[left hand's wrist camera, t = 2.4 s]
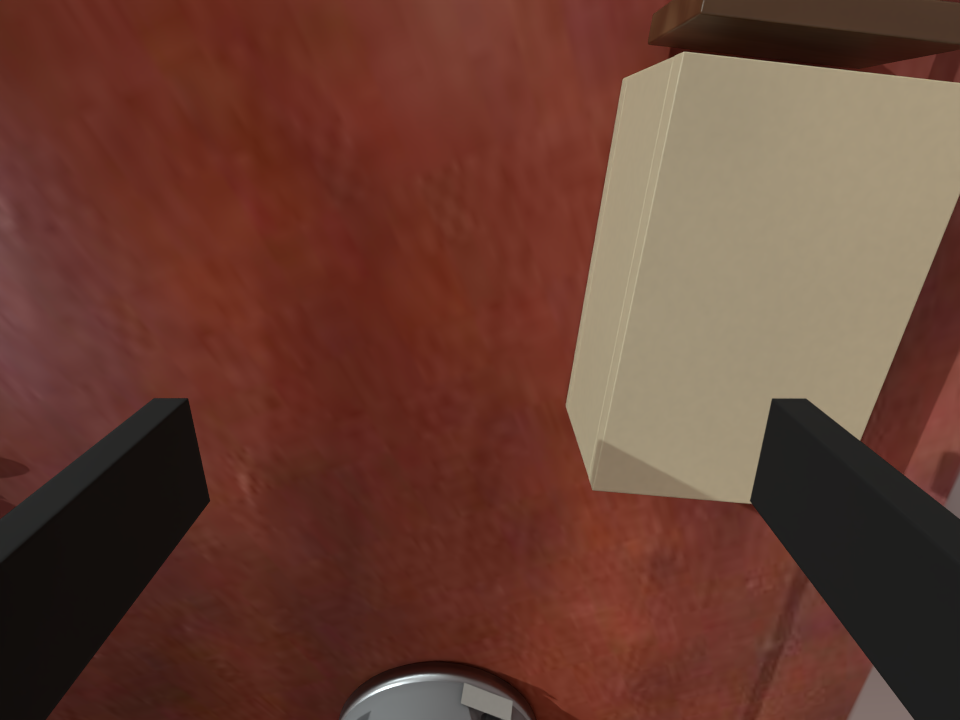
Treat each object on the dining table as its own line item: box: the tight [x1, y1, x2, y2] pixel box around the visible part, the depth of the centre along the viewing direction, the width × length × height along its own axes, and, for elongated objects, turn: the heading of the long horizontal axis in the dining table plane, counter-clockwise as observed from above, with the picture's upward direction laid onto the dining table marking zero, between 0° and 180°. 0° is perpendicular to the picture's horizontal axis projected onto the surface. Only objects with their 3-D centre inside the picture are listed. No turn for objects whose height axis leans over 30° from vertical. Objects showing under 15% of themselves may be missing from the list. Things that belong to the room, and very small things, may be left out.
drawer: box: [648, 0, 960, 69], centre depth 23 cm, size 21×10×6 cm, turn 174°
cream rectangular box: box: [566, 52, 960, 504], centre depth 25 cm, size 17×11×8 cm, turn 174°
